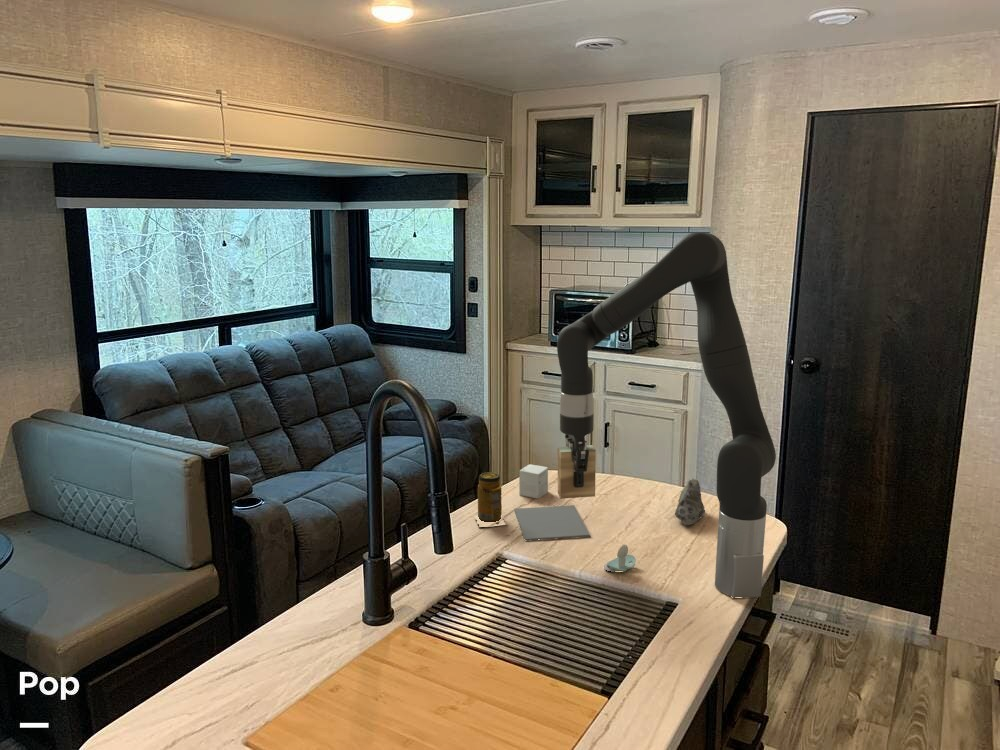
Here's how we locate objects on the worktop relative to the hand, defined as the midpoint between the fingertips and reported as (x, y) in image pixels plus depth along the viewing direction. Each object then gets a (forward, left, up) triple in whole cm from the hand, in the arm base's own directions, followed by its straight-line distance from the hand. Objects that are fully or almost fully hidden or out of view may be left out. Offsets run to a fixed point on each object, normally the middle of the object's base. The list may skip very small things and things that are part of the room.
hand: (576, 483), depth 175 cm
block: (0, 0, -3) cm, 3 cm away
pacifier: (-10, -7, -17) cm, 21 cm away
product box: (+35, +4, -17) cm, 39 cm away
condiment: (+19, +18, -17) cm, 31 cm away
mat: (+15, +3, -17) cm, 23 cm away
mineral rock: (+13, -32, -17) cm, 38 cm away
